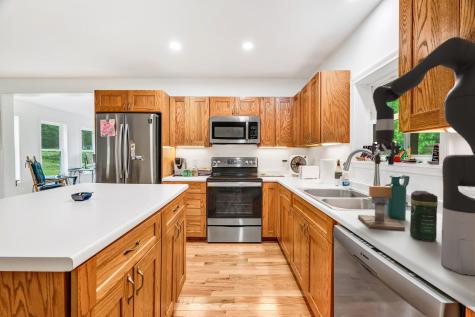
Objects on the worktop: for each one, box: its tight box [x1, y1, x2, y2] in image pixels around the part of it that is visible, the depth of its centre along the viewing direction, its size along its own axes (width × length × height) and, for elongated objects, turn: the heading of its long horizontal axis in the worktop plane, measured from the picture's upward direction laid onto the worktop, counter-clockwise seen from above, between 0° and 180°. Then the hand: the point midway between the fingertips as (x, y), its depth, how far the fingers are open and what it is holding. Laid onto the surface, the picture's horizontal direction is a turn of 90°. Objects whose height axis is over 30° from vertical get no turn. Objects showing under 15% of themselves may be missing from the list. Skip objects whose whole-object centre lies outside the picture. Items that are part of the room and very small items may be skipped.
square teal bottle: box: [384, 174, 410, 220], centre depth 128 cm, size 10×8×22 cm
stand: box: [357, 204, 406, 231], centre depth 116 cm, size 18×14×10 cm
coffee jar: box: [409, 190, 439, 242], centre depth 97 cm, size 10×8×19 cm
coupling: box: [367, 185, 392, 205], centre depth 116 cm, size 10×7×8 cm
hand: (383, 164), depth 114 cm, fingers open, 8 cm apart
